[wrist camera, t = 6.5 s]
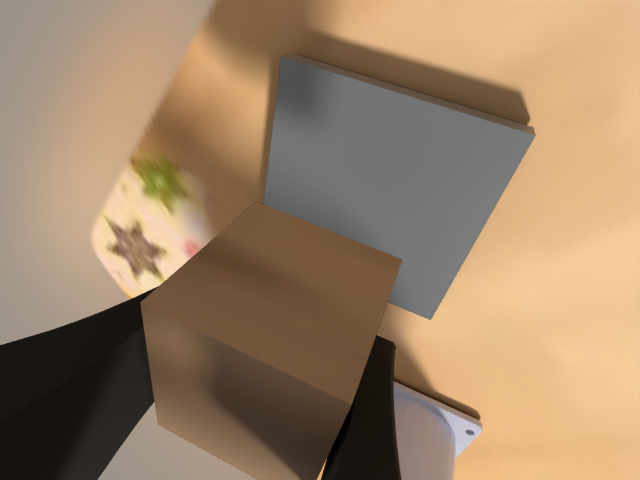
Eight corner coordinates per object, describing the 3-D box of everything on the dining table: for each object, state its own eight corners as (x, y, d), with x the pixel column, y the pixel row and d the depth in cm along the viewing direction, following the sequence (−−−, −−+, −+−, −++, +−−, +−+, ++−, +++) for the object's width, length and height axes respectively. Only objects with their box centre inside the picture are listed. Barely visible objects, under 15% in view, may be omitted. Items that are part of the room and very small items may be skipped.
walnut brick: (356, 365, 13) (304, 505, 10) (244, 314, 14) (158, 424, 10) (402, 259, 10) (351, 405, 7) (256, 201, 11) (140, 302, 7)
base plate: (433, 307, 20) (430, 320, 19) (266, 238, 22) (258, 247, 21) (533, 127, 14) (535, 135, 13) (291, 53, 16) (281, 56, 15)
